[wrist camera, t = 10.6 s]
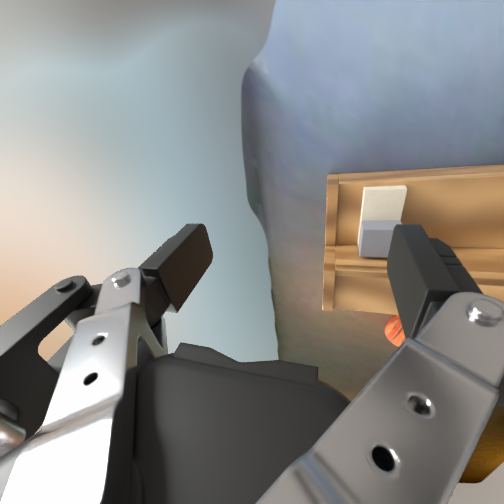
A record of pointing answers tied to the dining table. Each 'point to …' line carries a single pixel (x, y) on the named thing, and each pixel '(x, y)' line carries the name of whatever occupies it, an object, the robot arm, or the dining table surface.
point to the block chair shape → (379, 219)
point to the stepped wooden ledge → (415, 212)
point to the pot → (395, 331)
